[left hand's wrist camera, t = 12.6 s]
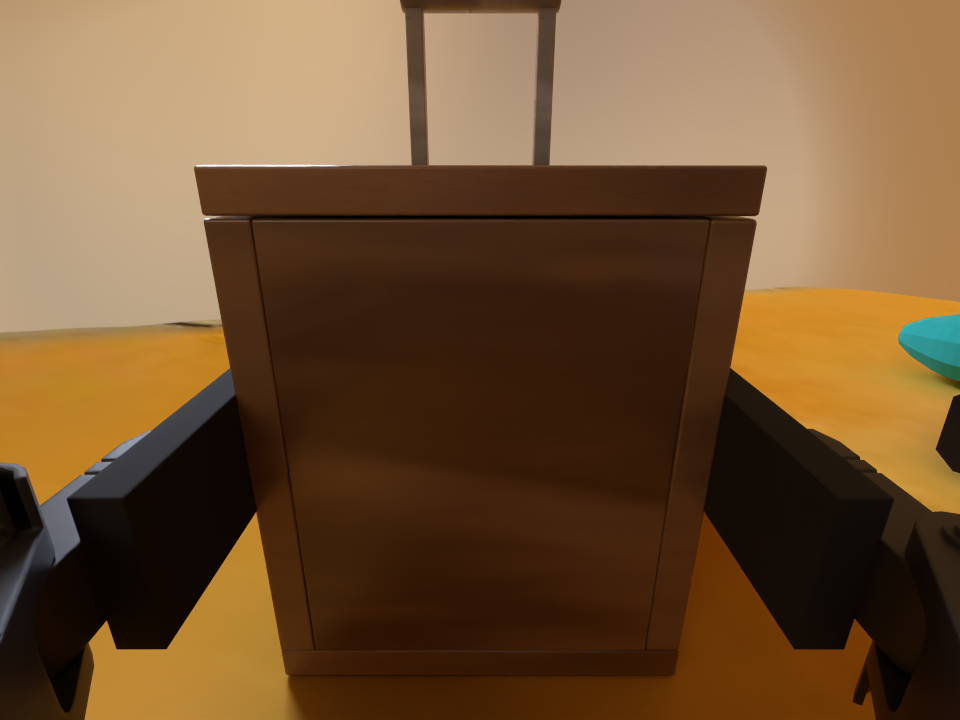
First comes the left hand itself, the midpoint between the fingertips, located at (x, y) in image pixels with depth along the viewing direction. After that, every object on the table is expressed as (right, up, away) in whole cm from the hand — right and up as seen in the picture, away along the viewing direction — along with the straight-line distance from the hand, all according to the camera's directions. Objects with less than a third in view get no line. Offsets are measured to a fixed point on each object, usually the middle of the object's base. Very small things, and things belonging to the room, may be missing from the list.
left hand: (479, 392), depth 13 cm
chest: (0, -4, +7) cm, 8 cm away
